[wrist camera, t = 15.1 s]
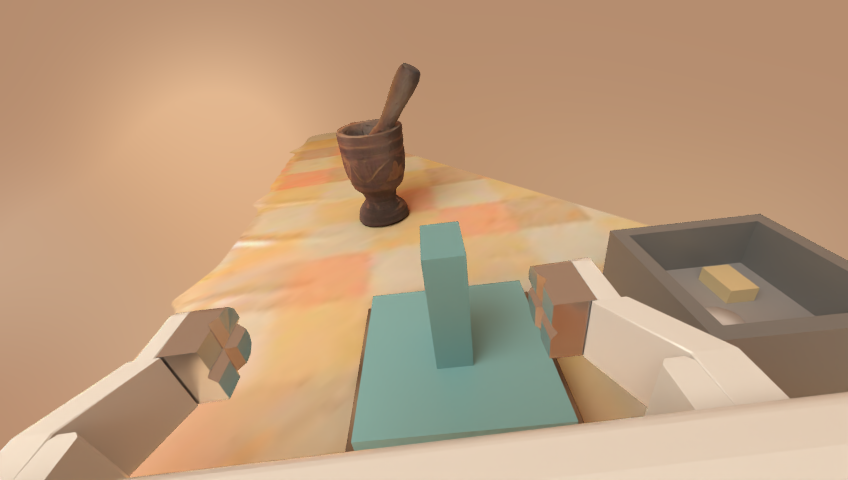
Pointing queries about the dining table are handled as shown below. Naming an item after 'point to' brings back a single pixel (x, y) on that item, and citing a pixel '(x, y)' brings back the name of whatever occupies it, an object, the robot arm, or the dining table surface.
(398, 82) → the mortar and pestle
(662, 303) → the tub
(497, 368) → the lid
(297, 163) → the dining table surface
